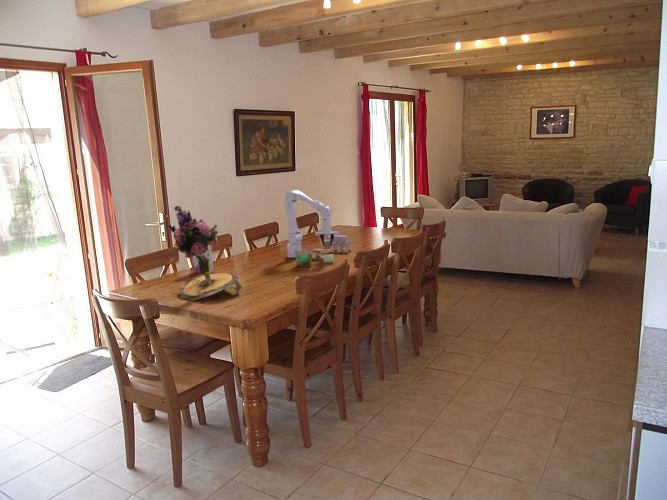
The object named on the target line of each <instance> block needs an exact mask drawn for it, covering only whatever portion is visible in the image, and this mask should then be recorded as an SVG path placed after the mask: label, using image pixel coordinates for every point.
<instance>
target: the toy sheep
mask: <svg viewBox="0 0 667 500" xmlns="http://www.w3.org/2000/svg"><path fill="white" fill-rule="evenodd" d="M324 238H327V239H328V240H330V235H324ZM348 239H349V238H348V235H334V238H333V240H332V246H331V247H332V252H333V253H335V252H336V251H338V247H339V251H340V253H343V251H344V247H345V251H346V253H348V254H349V251H351V246H352V245H351V244H352V240H348ZM330 242H331V241H330Z"/></svg>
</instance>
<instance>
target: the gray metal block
mask: <svg viewBox="0 0 667 500" xmlns="http://www.w3.org/2000/svg"><path fill="white" fill-rule="evenodd" d="M323 247H324V249H323V250H330V249H331V248H332V246H330V239H324V246H323Z"/></svg>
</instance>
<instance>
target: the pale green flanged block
mask: <svg viewBox="0 0 667 500" xmlns="http://www.w3.org/2000/svg"><path fill="white" fill-rule="evenodd" d="M323 256H324V259H323V263H334V253H332V254H329V253H328V254H327V253H326V254H325V253H324V254H323Z"/></svg>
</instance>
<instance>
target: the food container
mask: <svg viewBox="0 0 667 500" xmlns="http://www.w3.org/2000/svg"><path fill="white" fill-rule="evenodd" d="M313 253H314V252H313V249H312V250H302V251H297V250H296V249H295V252H294V254H295V255H296V257H295V261H296V266H297V267H298V268H309V267H312V260H313V259H312V257H313V256H312V255H313Z"/></svg>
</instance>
